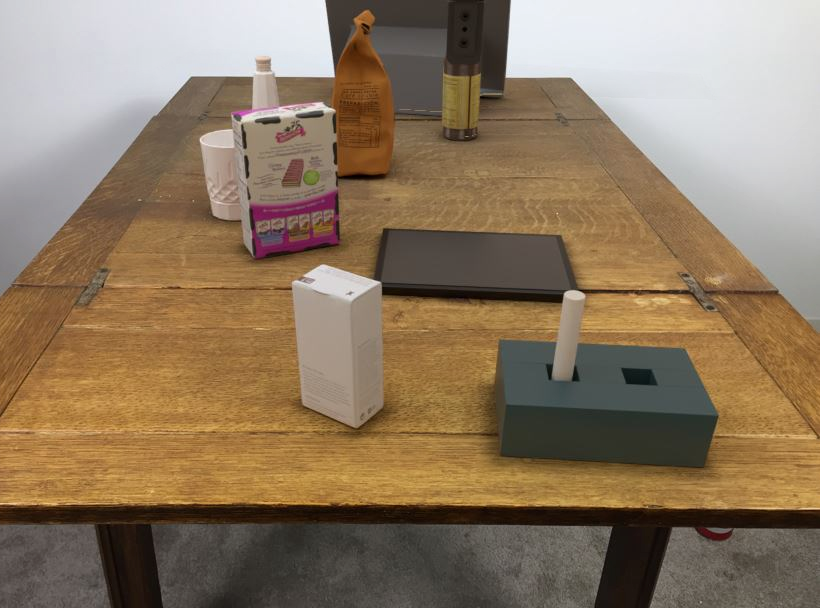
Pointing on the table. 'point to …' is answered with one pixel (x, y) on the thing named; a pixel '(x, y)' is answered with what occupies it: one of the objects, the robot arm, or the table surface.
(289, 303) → the table surface
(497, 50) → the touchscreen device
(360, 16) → the coffee package
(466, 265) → the tablet
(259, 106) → the salt shaker
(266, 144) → the candy bar box
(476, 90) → the sauce bottle
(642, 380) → the pen stand
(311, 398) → the cosmetic box
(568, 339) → the stylus
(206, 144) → the white cup
